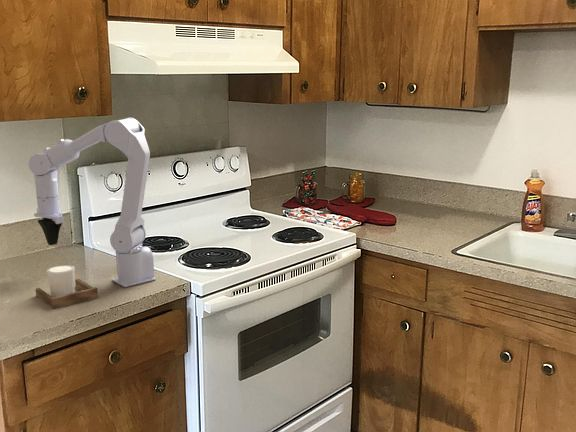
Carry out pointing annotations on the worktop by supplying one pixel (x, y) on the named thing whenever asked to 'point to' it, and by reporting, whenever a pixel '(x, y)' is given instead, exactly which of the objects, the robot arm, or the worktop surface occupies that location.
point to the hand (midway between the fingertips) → (52, 244)
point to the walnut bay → (69, 295)
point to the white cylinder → (61, 280)
